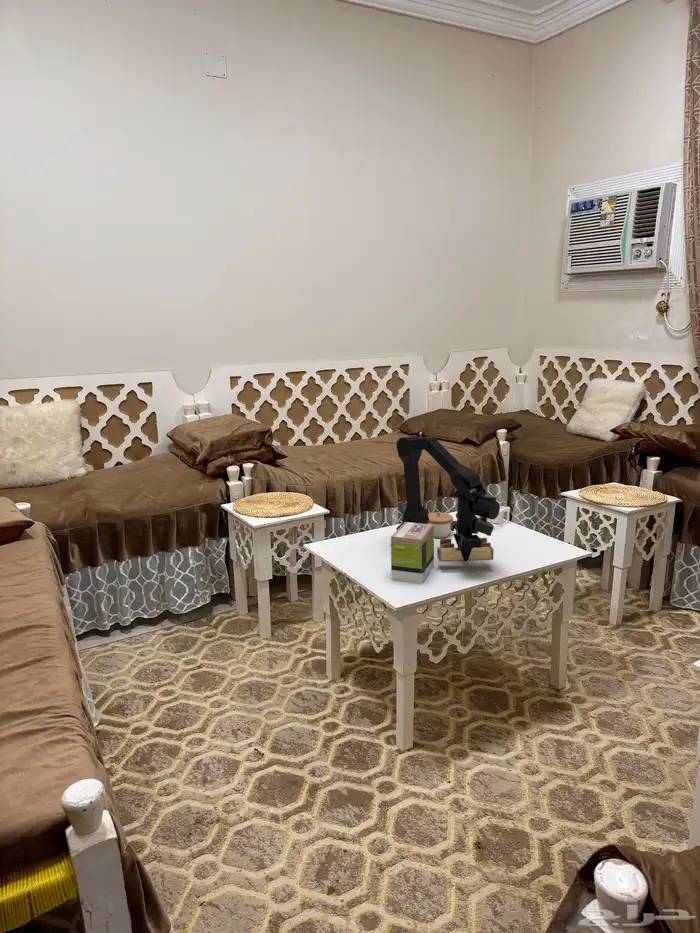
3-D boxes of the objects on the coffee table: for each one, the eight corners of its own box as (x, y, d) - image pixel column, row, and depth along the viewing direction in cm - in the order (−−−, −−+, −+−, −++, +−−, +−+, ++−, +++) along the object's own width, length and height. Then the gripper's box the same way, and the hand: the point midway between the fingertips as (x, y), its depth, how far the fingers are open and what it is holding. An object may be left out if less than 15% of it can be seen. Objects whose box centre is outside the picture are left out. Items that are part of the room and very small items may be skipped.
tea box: (404, 563, 212) (404, 520, 209) (434, 567, 208) (435, 523, 205) (390, 581, 198) (390, 535, 195) (422, 585, 195) (423, 538, 191)
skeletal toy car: (501, 521, 254) (502, 503, 252) (517, 530, 244) (518, 511, 242) (455, 527, 248) (456, 509, 246) (470, 536, 237) (471, 517, 236)
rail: (439, 561, 204) (439, 551, 203) (437, 557, 208) (437, 547, 207) (493, 559, 205) (493, 549, 204) (490, 555, 208) (490, 545, 208)
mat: (441, 573, 203) (441, 572, 203) (437, 565, 210) (437, 564, 210) (492, 572, 204) (492, 571, 204) (486, 564, 211) (486, 562, 211)
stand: (440, 562, 213) (441, 544, 211) (437, 555, 218) (438, 538, 217) (492, 561, 213) (493, 543, 212) (487, 554, 219) (488, 537, 218)
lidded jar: (424, 541, 232) (424, 516, 230) (422, 532, 242) (422, 508, 240) (454, 542, 232) (455, 516, 229) (450, 532, 242) (451, 508, 240)
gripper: (500, 521, 194) (497, 570, 198) (484, 503, 212) (482, 548, 216) (463, 521, 194) (461, 571, 197) (450, 504, 212) (449, 549, 215)
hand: (464, 559), depth 206 cm, fingers closed on rail, 3 cm apart
